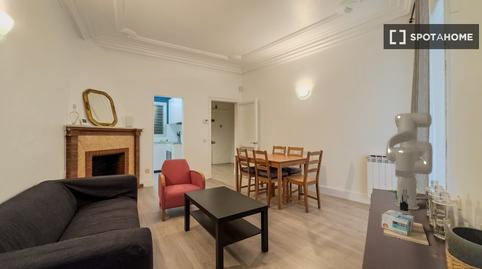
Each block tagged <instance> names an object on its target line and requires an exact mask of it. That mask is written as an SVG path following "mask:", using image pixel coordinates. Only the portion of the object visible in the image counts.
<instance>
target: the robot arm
mask: <svg viewBox="0 0 482 269" xmlns="http://www.w3.org/2000/svg"><path fill="white" fill-rule="evenodd" d="M432 121H433V120H432V115H431V113H429V112H407V113H405V112H404V113H399V114H396V115H395V117H394V124H395V125H396V127H397V133H395V134H394V135H392V136H391V137H390V138H389V140H388V141H387V143H386V150H385V158H386V159H387V160H388V161H389V162H390V161H391V162H395V168H394V170H395V174H394V176H395V177H396V178H397V181H396V184H397V185H396V190H397V198H398V199H396V200H395V201H394V205H395V206H396V207H398V208H399V210H400V212H401V211H402V212H409V210H412V211H413V210H415V211H416V210H419V209H420V206H419V204H422V203H423V201H422V200H421V199H417V186H418V185H417V183H418V182H417V181H418V180H417V179H416V177H415V174H418V175H419V174H421V175H430V174H431V173H432V172H433V153H434V152H433V145H432V143H431V142H429V141H427V140H422V141H421V140H417V137H418V133H417V132H418V128H429V127H431V125H432ZM397 145H399V146H397Z"/></svg>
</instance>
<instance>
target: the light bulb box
mask: <svg viewBox="0 0 482 269" xmlns="http://www.w3.org/2000/svg"><path fill="white" fill-rule="evenodd" d="M414 221H415V216H414V215H411V214H408V213H403V212H401V211H396V210H392V209H389V210H387V211H385V212H384V213H382V214H381V228H383V229H384V228H385V229H388V230H391V231H394V232H397V233H400V234H404V235H408V234H409V233H410V232H411V231H412V230H413V225H414V223H415V222H414Z"/></svg>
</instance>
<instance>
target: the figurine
mask: <svg viewBox="0 0 482 269" xmlns="http://www.w3.org/2000/svg"><path fill="white" fill-rule="evenodd" d="M387 191H388V192H389V193H390V192H391V193H394V194H395V199H396V200H398V196H397V189H394V190H391V189H388V190H387Z"/></svg>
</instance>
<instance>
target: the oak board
mask: <svg viewBox="0 0 482 269" xmlns="http://www.w3.org/2000/svg"><path fill="white" fill-rule="evenodd" d="M383 236H386V237H392V238H395V237H396V239H399V238H400V240H404V241H408V242H412V243H417V244H420V245H421V244H422V245H426V246H429V242H428V241H429V240H428V239H427V234H426V232H425V230H424V226H423V224H422V223H418V222H414V225H413V230H412V231H411V232H410V233H409V234H408V235H404V234H400V233H397V232H394V231H391V230H388V229H385V228H383Z"/></svg>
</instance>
